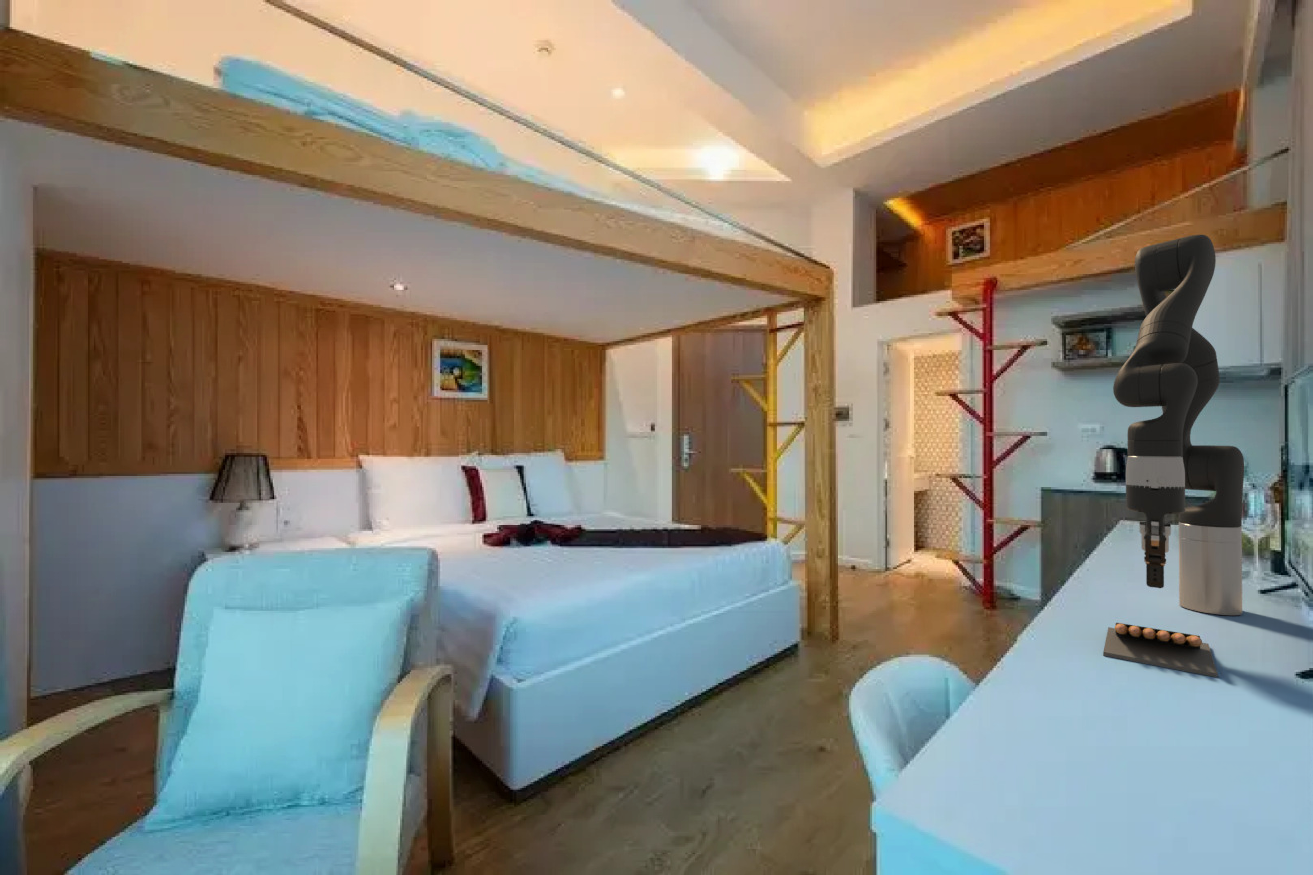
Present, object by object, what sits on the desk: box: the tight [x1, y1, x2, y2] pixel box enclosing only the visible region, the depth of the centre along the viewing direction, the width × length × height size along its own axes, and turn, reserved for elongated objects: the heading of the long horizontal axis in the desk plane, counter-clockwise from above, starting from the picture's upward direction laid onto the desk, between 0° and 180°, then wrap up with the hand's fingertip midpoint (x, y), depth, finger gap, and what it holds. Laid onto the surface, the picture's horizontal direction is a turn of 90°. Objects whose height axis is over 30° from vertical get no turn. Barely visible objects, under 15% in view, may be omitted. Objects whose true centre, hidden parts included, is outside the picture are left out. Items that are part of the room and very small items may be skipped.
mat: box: [1102, 626, 1219, 678], centre depth 93 cm, size 16×13×1 cm
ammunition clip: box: [1114, 622, 1203, 649], centre depth 92 cm, size 11×2×12 cm
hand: (1155, 586), depth 96 cm, fingers closed
